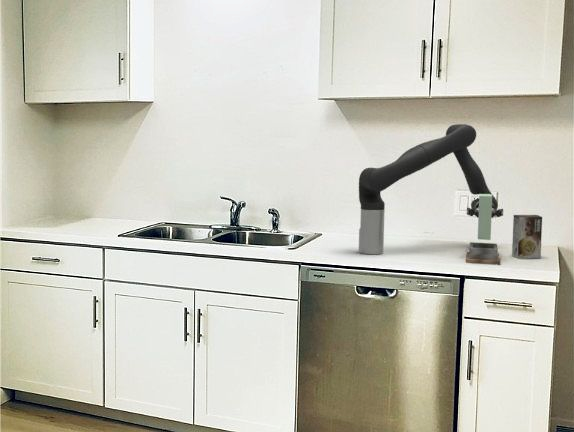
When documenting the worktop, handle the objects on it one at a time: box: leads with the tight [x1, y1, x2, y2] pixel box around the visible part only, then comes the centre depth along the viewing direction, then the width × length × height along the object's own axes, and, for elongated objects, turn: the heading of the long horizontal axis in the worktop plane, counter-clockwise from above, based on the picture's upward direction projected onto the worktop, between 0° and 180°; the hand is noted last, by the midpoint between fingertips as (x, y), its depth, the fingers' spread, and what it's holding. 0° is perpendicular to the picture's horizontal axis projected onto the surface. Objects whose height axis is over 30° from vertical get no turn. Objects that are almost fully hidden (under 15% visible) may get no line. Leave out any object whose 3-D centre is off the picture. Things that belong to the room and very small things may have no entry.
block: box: [477, 193, 493, 241], centre depth 252 cm, size 4×9×16 cm, turn 164°
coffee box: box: [511, 214, 543, 259], centre depth 259 cm, size 9×6×16 cm
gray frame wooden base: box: [465, 241, 501, 266], centre depth 253 cm, size 12×18×5 cm, turn 164°
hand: (485, 214), depth 249 cm, fingers closed on block, 4 cm apart
